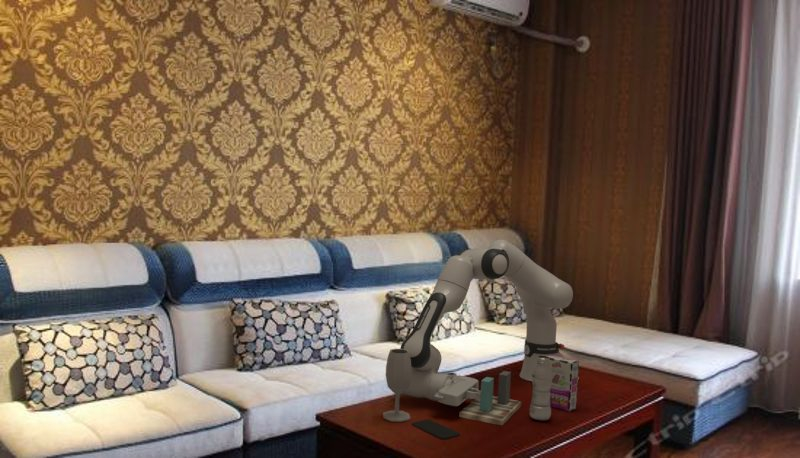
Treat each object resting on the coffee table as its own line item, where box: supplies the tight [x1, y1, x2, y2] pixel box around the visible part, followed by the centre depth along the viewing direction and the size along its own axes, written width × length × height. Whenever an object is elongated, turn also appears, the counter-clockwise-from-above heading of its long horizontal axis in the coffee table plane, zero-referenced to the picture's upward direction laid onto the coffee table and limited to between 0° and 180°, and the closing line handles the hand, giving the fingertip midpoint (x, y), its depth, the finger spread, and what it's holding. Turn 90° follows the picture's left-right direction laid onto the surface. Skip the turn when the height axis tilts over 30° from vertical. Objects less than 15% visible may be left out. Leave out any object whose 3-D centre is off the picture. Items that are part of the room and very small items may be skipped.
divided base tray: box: [458, 395, 522, 426], centre depth 226 cm, size 14×21×2 cm, turn 155°
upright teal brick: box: [480, 376, 495, 412], centre depth 221 cm, size 2×5×10 cm, turn 155°
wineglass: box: [382, 348, 412, 423], centre depth 215 cm, size 9×9×21 cm
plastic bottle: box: [529, 356, 553, 422], centre depth 220 cm, size 6×7×20 cm
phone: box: [410, 418, 461, 441], centre depth 208 cm, size 7×1×15 cm
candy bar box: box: [547, 355, 580, 413], centre depth 234 cm, size 11×5×16 cm, turn 47°
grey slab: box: [497, 370, 512, 405], centre depth 229 cm, size 2×5×10 cm, turn 155°
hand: (482, 395), depth 222 cm, fingers closed, pressing on upright teal brick
